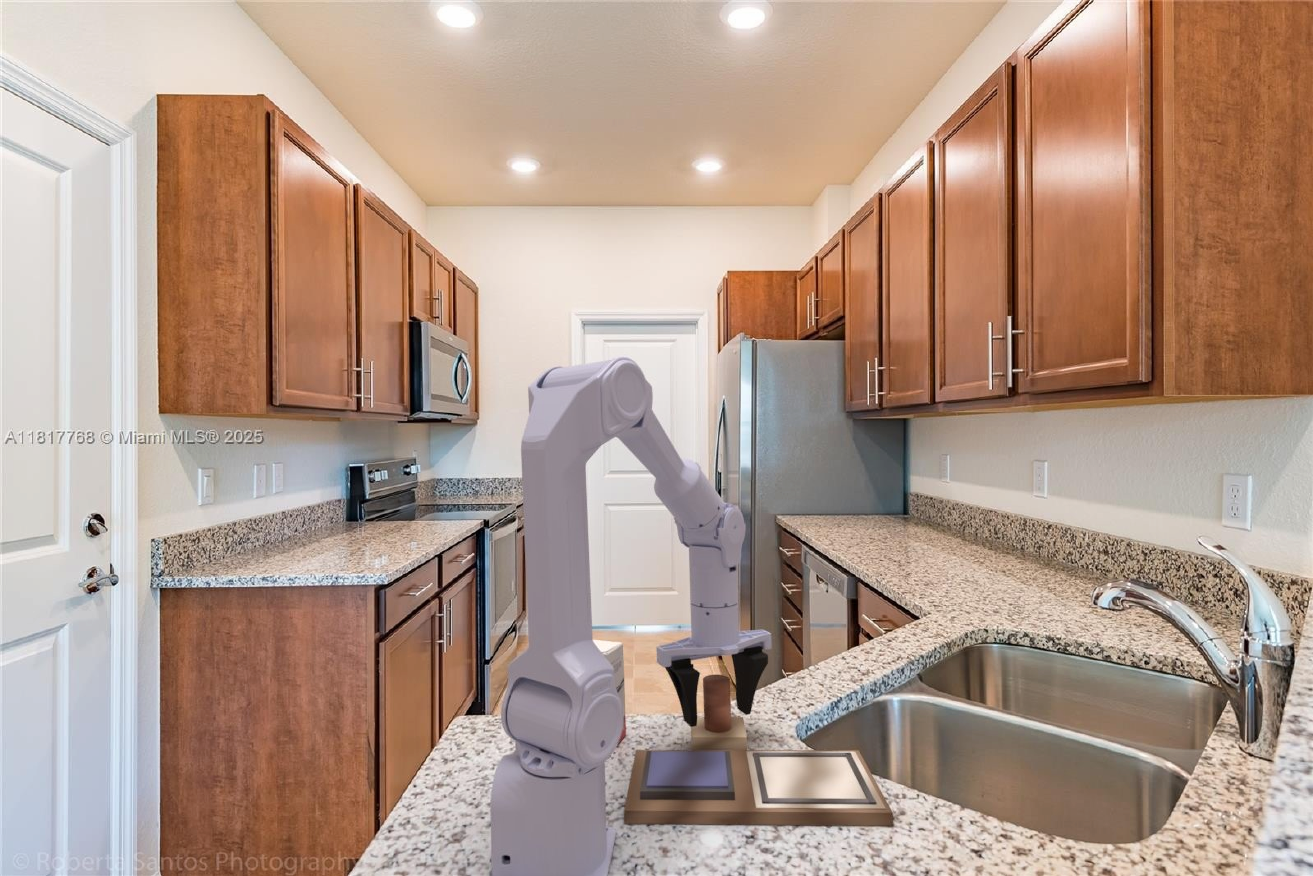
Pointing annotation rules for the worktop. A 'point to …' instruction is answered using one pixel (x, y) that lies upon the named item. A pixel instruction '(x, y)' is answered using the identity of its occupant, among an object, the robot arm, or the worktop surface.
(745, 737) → the stamp
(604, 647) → the ink box
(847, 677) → the worktop surface
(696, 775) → the desk board
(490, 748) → the worktop surface
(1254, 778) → the worktop surface
